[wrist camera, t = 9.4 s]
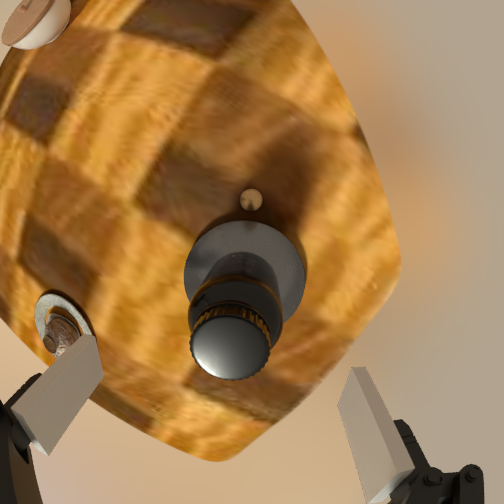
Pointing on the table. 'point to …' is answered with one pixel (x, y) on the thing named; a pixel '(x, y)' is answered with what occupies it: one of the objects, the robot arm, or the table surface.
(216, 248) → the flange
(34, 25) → the lidded jar
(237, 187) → the table surface
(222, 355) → the supplement bottle
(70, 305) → the grey ring with stone
